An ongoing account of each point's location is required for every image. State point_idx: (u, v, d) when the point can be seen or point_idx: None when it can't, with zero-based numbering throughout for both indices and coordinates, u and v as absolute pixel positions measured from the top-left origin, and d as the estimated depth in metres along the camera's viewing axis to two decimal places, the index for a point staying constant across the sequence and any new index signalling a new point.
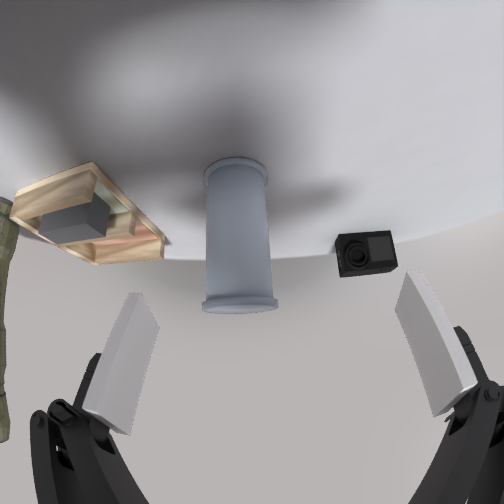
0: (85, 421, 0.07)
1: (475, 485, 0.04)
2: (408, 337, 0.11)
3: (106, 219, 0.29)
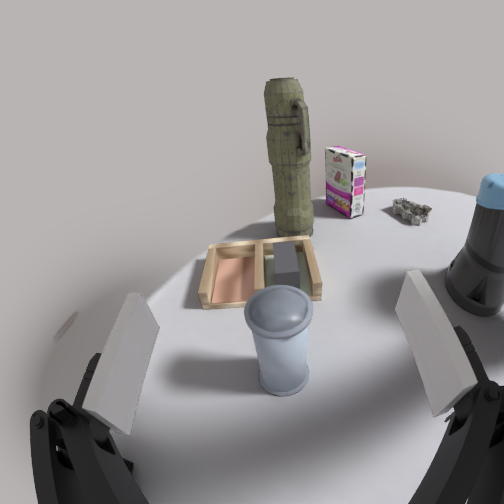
0: (85, 421, 0.07)
1: (475, 485, 0.04)
2: (408, 337, 0.11)
3: (278, 282, 0.45)
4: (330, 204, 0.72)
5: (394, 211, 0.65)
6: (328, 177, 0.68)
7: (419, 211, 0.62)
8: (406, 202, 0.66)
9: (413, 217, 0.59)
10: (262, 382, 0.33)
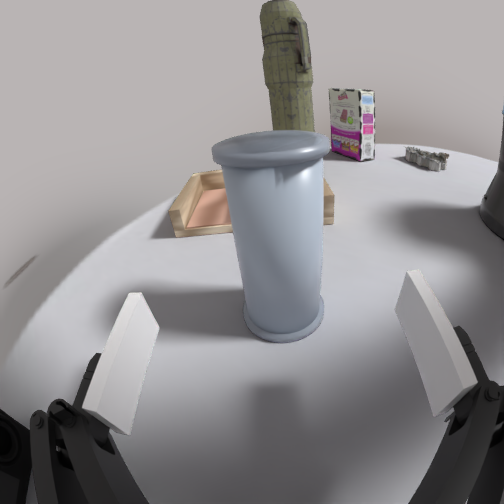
0: (85, 421, 0.07)
1: (475, 485, 0.04)
2: (408, 337, 0.11)
3: None
4: (336, 150, 0.60)
5: (408, 158, 0.53)
6: (333, 119, 0.56)
7: (435, 159, 0.50)
8: None
9: (431, 161, 0.47)
10: (248, 319, 0.21)
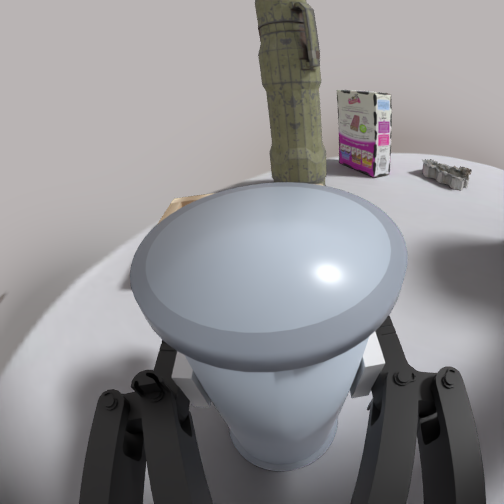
0: (174, 398, 0.08)
1: (426, 481, 0.05)
2: None
3: None
4: (345, 162, 0.52)
5: (426, 174, 0.45)
6: (342, 127, 0.48)
7: (455, 174, 0.42)
8: (437, 165, 0.47)
9: (453, 179, 0.39)
10: (235, 440, 0.13)
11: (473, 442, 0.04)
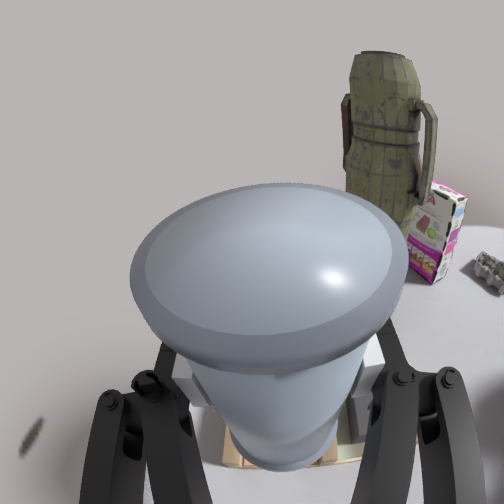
0: (174, 398, 0.08)
1: (426, 481, 0.05)
2: None
3: (358, 439, 0.20)
4: None
5: (477, 273, 0.39)
6: None
7: (503, 271, 0.36)
8: (485, 257, 0.40)
9: (503, 285, 0.33)
10: (235, 441, 0.13)
11: (473, 442, 0.04)
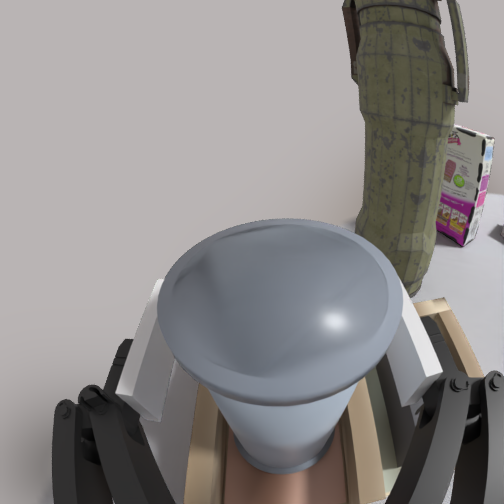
0: (118, 409, 0.08)
1: (457, 481, 0.04)
2: None
3: None
4: None
5: None
6: None
7: None
8: None
9: None
10: (239, 446, 0.14)
11: None
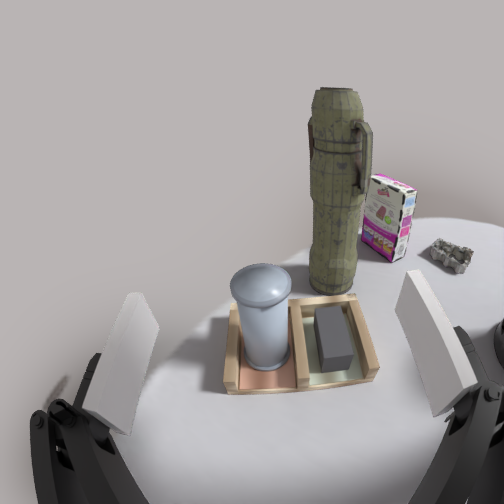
0: (85, 421, 0.07)
1: (475, 485, 0.04)
2: (408, 337, 0.11)
3: (325, 366, 0.33)
4: (366, 242, 0.59)
5: (434, 257, 0.52)
6: (368, 211, 0.56)
7: (459, 254, 0.50)
8: (442, 243, 0.54)
9: (459, 265, 0.46)
10: (246, 357, 0.37)
11: None
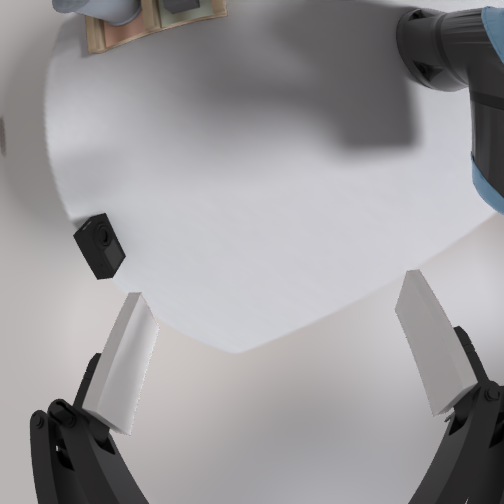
0: (85, 421, 0.07)
1: (475, 485, 0.04)
2: (408, 337, 0.11)
3: (171, 10, 0.23)
4: None
5: None
6: None
7: None
8: None
9: None
10: None
11: None
